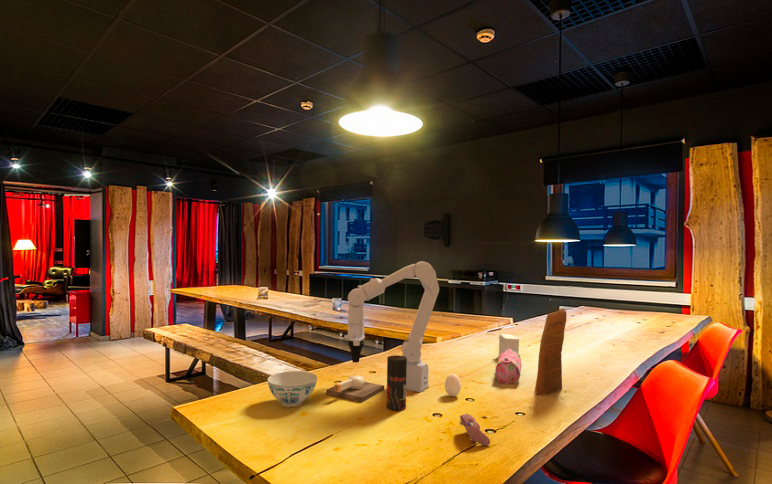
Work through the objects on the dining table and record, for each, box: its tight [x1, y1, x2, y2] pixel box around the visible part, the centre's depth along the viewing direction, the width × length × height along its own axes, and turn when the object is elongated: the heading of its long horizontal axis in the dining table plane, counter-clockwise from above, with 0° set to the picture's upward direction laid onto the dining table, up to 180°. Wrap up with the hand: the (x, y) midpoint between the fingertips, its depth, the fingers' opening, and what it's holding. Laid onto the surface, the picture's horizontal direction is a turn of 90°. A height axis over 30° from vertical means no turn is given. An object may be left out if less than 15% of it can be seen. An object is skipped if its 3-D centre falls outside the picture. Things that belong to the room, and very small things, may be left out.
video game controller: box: [458, 413, 491, 447], centre depth 110 cm, size 10×5×7 cm, turn 5°
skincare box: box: [498, 333, 520, 355], centre depth 192 cm, size 10×6×10 cm, turn 179°
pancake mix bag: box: [534, 308, 567, 396], centre depth 150 cm, size 7×19×28 cm, turn 133°
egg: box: [444, 373, 462, 397], centre depth 142 cm, size 5×5×7 cm
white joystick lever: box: [334, 375, 365, 392], centre depth 141 cm, size 12×5×3 cm, turn 146°
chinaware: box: [267, 370, 318, 408], centre depth 133 cm, size 15×15×8 cm
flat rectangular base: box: [325, 381, 385, 403], centre depth 144 cm, size 14×14×2 cm
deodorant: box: [386, 355, 407, 412], centre depth 131 cm, size 6×6×15 cm
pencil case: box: [495, 349, 523, 385], centre depth 166 cm, size 21×9×9 cm, turn 160°
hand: (355, 362), depth 151 cm, fingers closed
